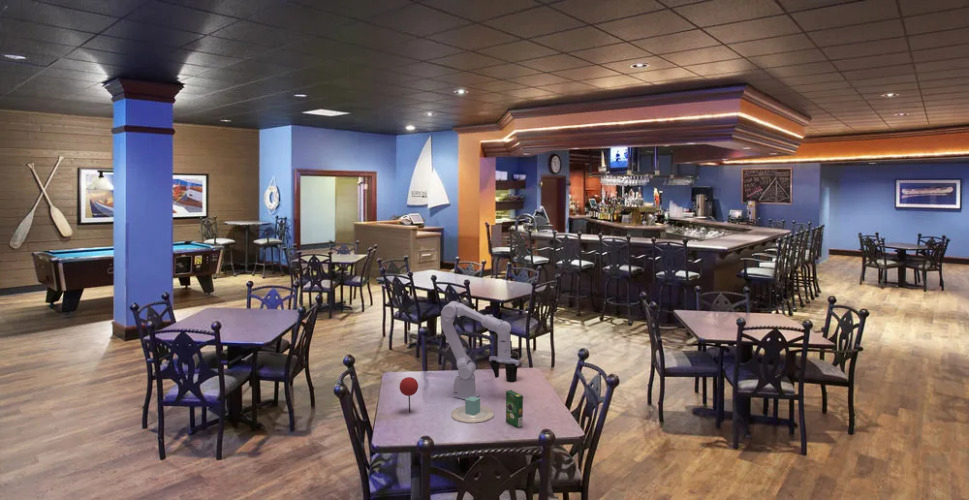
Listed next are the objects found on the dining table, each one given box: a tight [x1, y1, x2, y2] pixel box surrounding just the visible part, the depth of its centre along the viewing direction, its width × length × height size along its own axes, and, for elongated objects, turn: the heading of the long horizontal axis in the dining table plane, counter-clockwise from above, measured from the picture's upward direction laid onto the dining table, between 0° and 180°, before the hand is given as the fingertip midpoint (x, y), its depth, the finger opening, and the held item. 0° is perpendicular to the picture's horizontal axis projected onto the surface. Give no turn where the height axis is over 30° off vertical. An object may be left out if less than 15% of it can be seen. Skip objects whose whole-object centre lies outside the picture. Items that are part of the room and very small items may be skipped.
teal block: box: [464, 396, 481, 415], centre depth 245 cm, size 4×4×6 cm
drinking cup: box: [504, 340, 520, 383], centre depth 288 cm, size 8×8×20 cm
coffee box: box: [505, 389, 524, 429], centre depth 234 cm, size 8×3×13 cm, turn 35°
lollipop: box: [399, 376, 419, 413], centre depth 249 cm, size 8×8×15 cm
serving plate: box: [450, 405, 495, 424], centre depth 245 cm, size 18×18×1 cm
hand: (504, 378), depth 263 cm, fingers open, 7 cm apart
